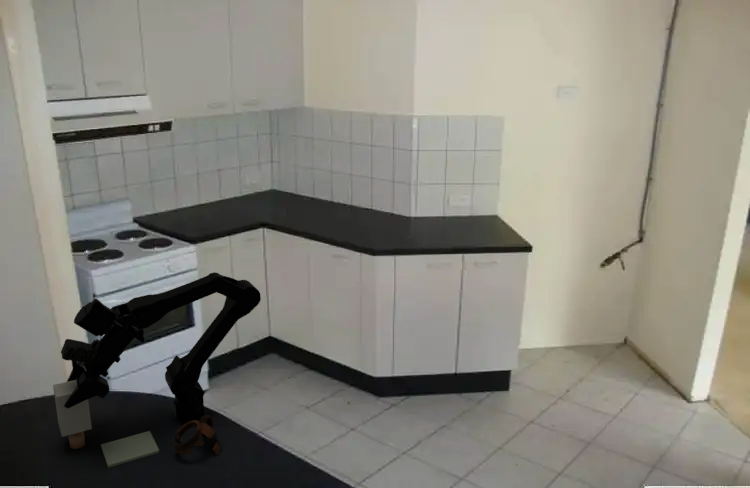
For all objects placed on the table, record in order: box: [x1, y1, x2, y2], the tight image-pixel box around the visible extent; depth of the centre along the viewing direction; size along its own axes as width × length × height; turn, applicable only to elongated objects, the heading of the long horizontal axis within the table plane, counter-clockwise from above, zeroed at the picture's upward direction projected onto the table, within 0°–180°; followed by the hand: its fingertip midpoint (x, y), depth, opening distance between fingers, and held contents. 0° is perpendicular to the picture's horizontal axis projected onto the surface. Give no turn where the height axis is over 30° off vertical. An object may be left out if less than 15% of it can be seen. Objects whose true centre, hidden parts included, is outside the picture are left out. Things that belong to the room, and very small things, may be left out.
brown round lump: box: [68, 431, 86, 450], centre depth 146 cm, size 3×3×3 cm
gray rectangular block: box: [52, 380, 93, 438], centre depth 144 cm, size 6×6×10 cm
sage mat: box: [100, 430, 160, 468], centre depth 145 cm, size 11×9×1 cm
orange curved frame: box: [172, 414, 222, 456], centre depth 146 cm, size 12×10×8 cm
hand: (64, 400), depth 143 cm, fingers closed on gray rectangular block, 6 cm apart
